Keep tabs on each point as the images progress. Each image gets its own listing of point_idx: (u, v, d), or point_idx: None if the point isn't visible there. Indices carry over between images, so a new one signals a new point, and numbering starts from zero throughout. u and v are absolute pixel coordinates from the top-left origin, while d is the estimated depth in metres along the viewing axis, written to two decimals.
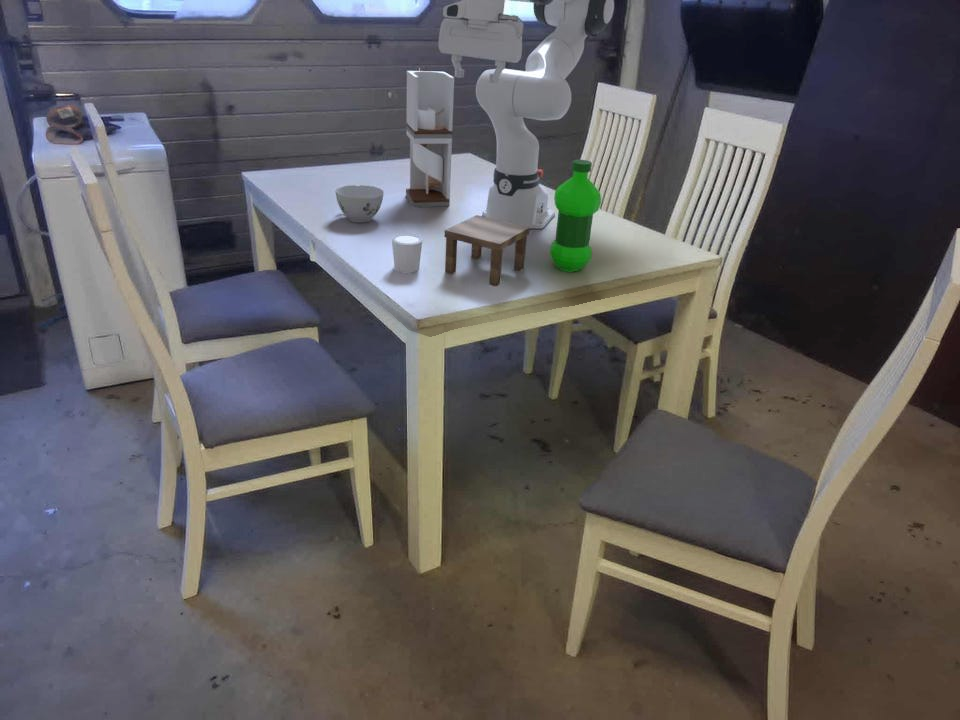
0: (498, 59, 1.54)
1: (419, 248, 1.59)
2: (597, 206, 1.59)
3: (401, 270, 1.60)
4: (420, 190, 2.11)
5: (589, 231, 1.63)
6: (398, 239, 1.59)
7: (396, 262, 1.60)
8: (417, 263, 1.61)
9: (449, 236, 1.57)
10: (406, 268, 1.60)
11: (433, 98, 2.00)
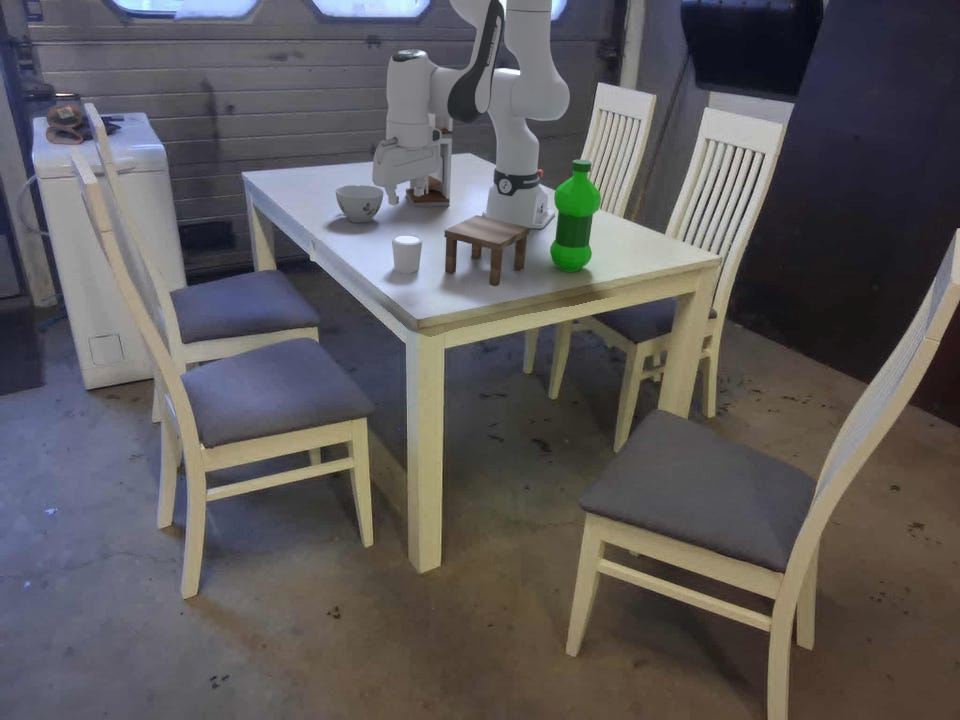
0: None
1: (419, 248, 1.59)
2: (597, 206, 1.59)
3: (401, 270, 1.60)
4: None
5: (589, 231, 1.63)
6: (398, 239, 1.59)
7: (396, 262, 1.60)
8: (417, 263, 1.61)
9: (449, 236, 1.57)
10: (406, 268, 1.60)
11: None
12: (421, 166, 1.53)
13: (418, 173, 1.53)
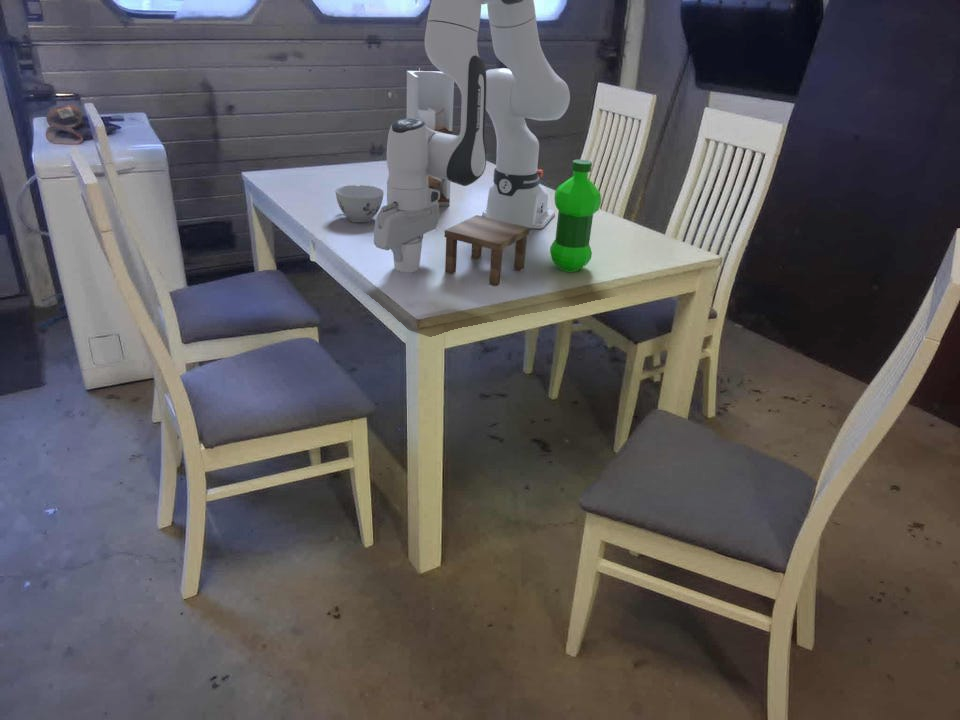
0: None
1: (419, 248, 1.59)
2: (597, 206, 1.59)
3: (401, 270, 1.60)
4: None
5: (589, 231, 1.63)
6: None
7: (396, 262, 1.60)
8: (417, 263, 1.61)
9: (449, 236, 1.57)
10: (406, 267, 1.60)
11: (433, 98, 2.00)
12: (420, 226, 1.60)
13: (418, 232, 1.59)
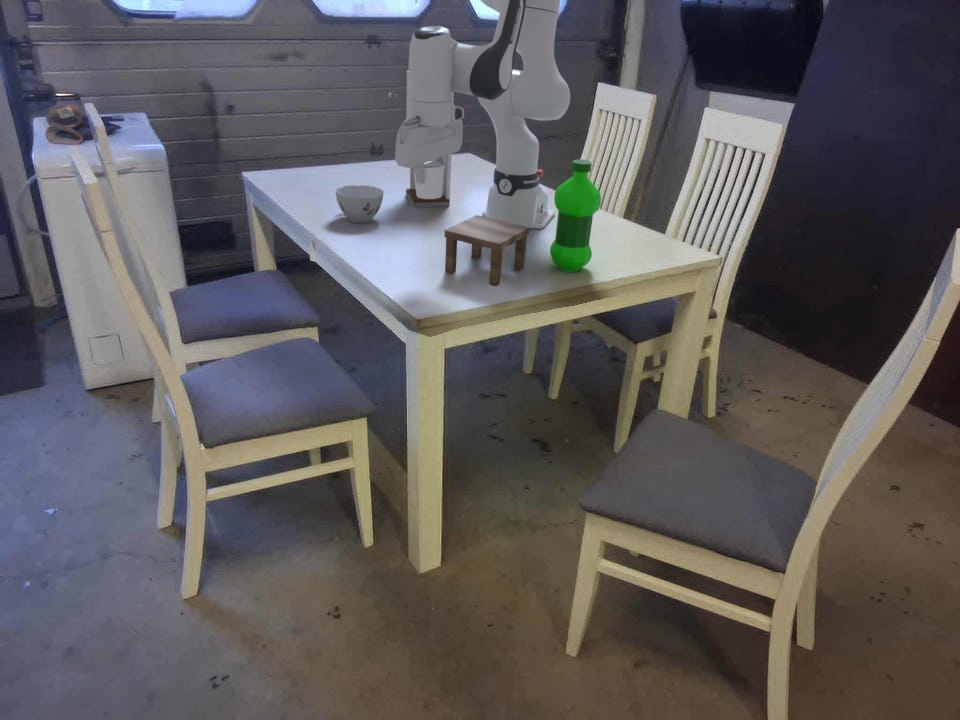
0: None
1: (442, 172, 1.52)
2: (597, 206, 1.59)
3: (424, 196, 1.53)
4: None
5: (589, 231, 1.63)
6: None
7: (418, 188, 1.52)
8: (440, 189, 1.53)
9: (449, 236, 1.57)
10: (428, 193, 1.52)
11: None
12: (444, 145, 1.51)
13: (441, 152, 1.51)
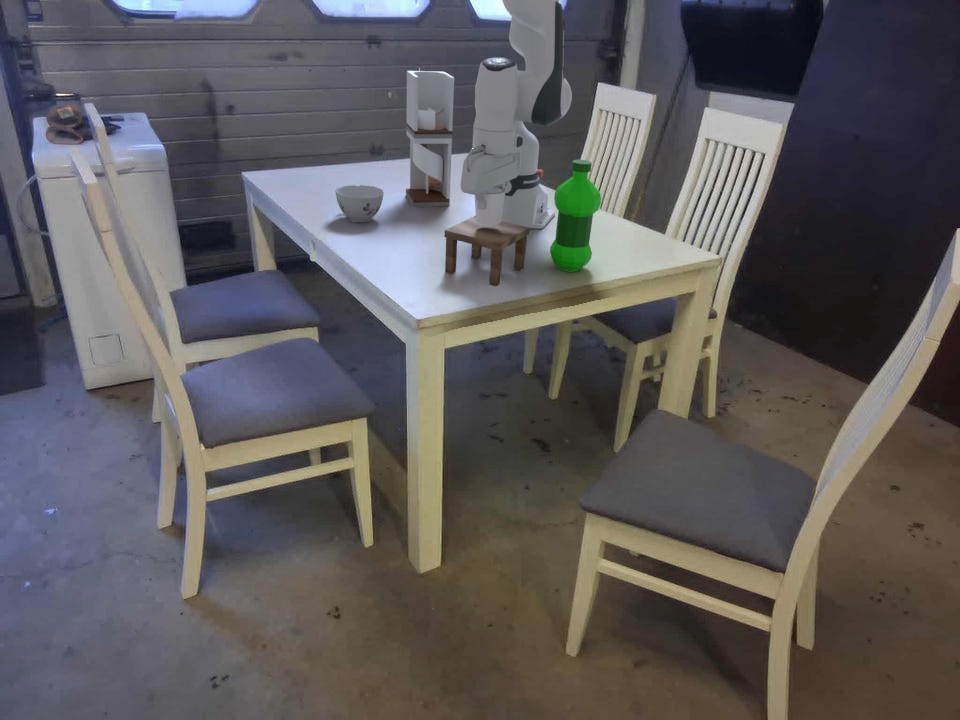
0: None
1: (503, 199, 1.55)
2: (597, 206, 1.59)
3: (484, 222, 1.56)
4: (420, 190, 2.11)
5: (589, 231, 1.63)
6: None
7: (479, 214, 1.55)
8: (500, 215, 1.56)
9: (449, 236, 1.57)
10: (489, 219, 1.55)
11: (433, 98, 2.00)
12: (504, 172, 1.55)
13: (502, 179, 1.55)
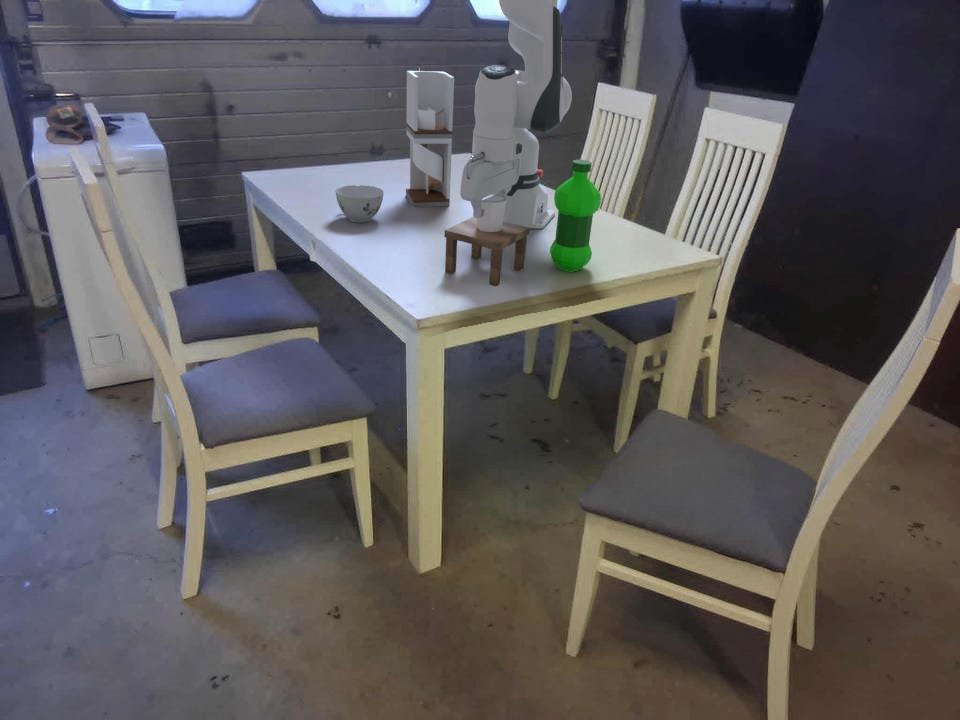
0: None
1: (503, 207, 1.56)
2: (597, 206, 1.59)
3: (485, 229, 1.57)
4: (420, 190, 2.11)
5: (589, 231, 1.63)
6: None
7: (480, 221, 1.57)
8: (501, 222, 1.58)
9: (449, 236, 1.57)
10: (490, 227, 1.57)
11: (433, 98, 2.00)
12: (504, 179, 1.56)
13: (501, 186, 1.55)
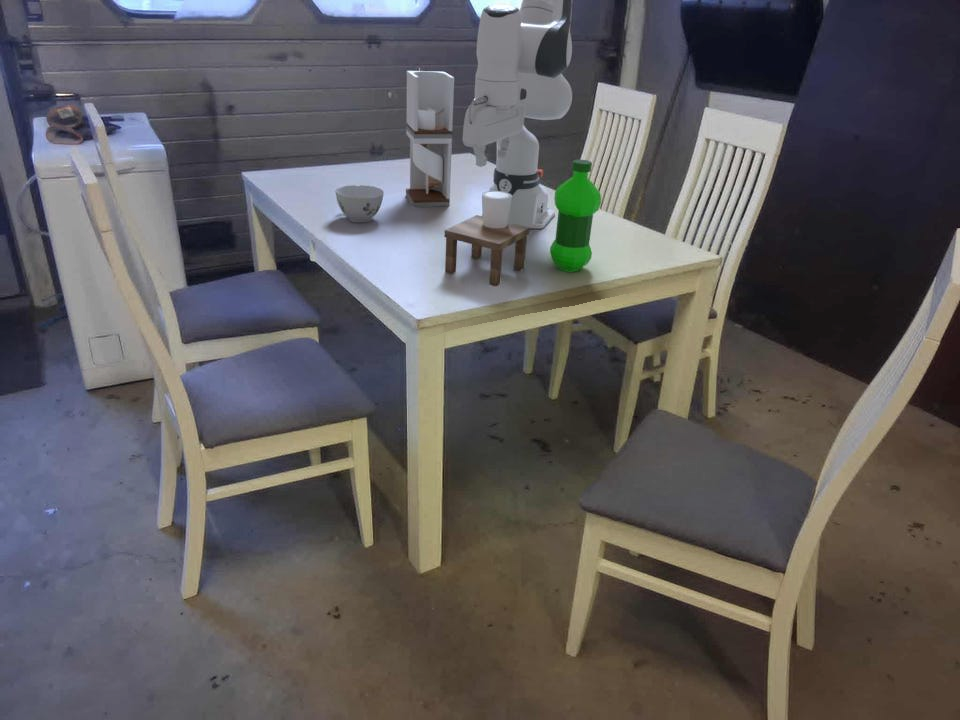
0: None
1: (509, 203, 1.59)
2: (597, 206, 1.59)
3: (491, 225, 1.60)
4: (420, 190, 2.11)
5: (589, 231, 1.63)
6: (488, 194, 1.59)
7: (486, 217, 1.59)
8: (506, 219, 1.60)
9: (449, 236, 1.57)
10: (495, 223, 1.59)
11: (433, 98, 2.00)
12: (508, 126, 1.50)
13: (505, 133, 1.50)
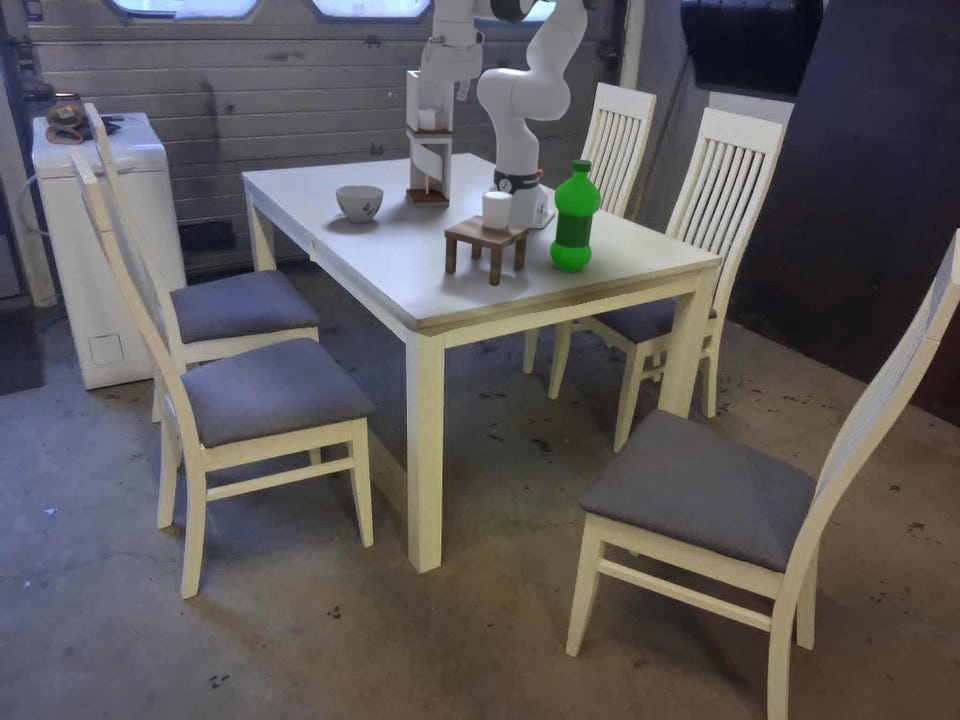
0: None
1: (510, 204, 1.59)
2: (597, 206, 1.59)
3: (491, 226, 1.60)
4: (420, 190, 2.11)
5: (589, 231, 1.63)
6: (488, 194, 1.59)
7: (486, 217, 1.59)
8: (507, 219, 1.60)
9: (449, 236, 1.57)
10: (496, 223, 1.59)
11: (433, 98, 2.00)
12: (465, 69, 1.58)
13: (462, 75, 1.58)
